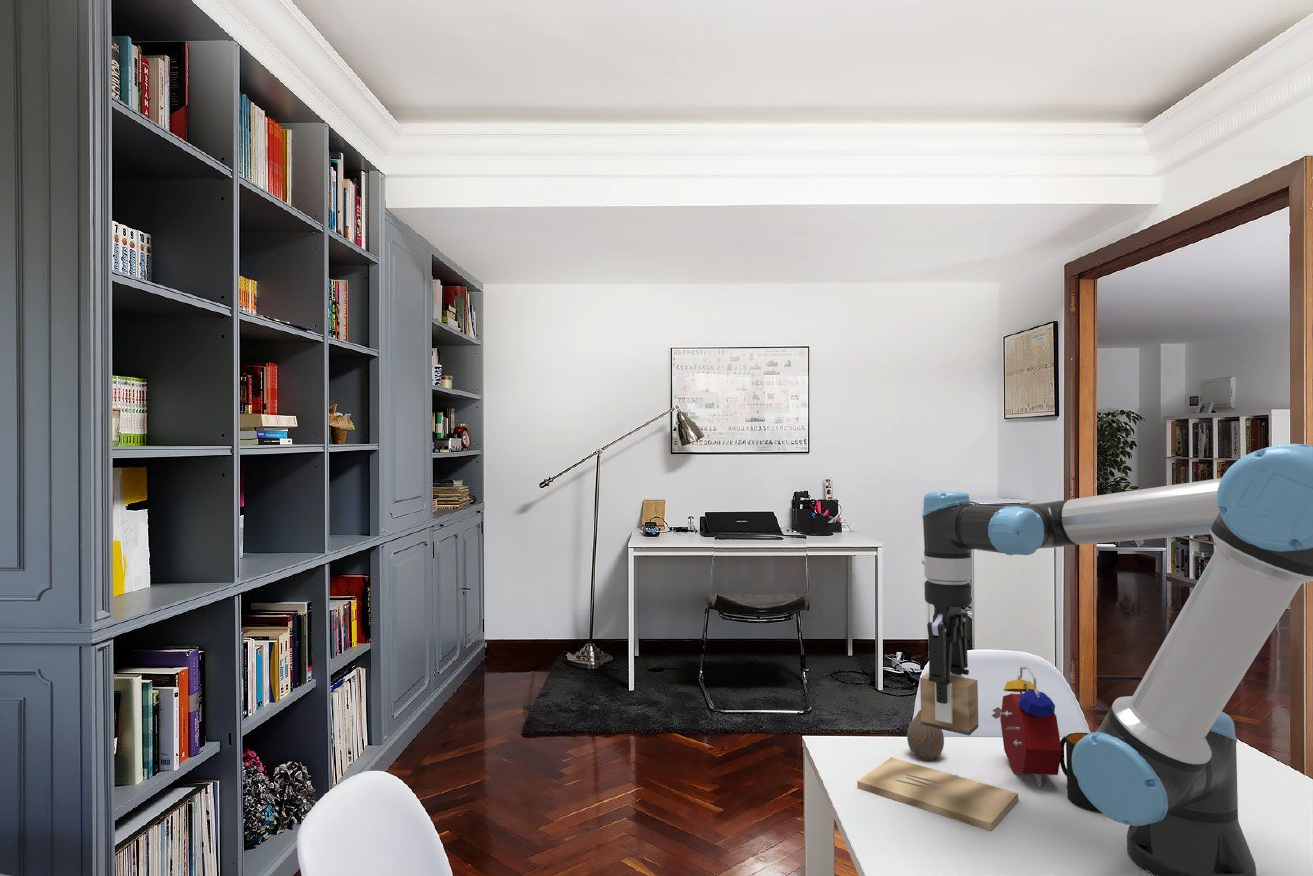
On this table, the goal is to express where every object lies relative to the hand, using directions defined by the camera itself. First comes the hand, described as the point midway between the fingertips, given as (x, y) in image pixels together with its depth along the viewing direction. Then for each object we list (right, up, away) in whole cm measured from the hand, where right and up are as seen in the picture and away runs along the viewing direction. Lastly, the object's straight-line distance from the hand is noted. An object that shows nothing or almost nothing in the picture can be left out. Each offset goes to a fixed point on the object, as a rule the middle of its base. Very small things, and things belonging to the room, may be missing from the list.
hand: (949, 716), depth 125 cm
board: (-1, -15, +3) cm, 15 cm away
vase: (+3, -16, +20) cm, 25 cm away
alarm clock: (+18, -15, +11) cm, 26 cm away
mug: (+24, -15, +1) cm, 29 cm away
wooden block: (0, -2, 0) cm, 2 cm away
